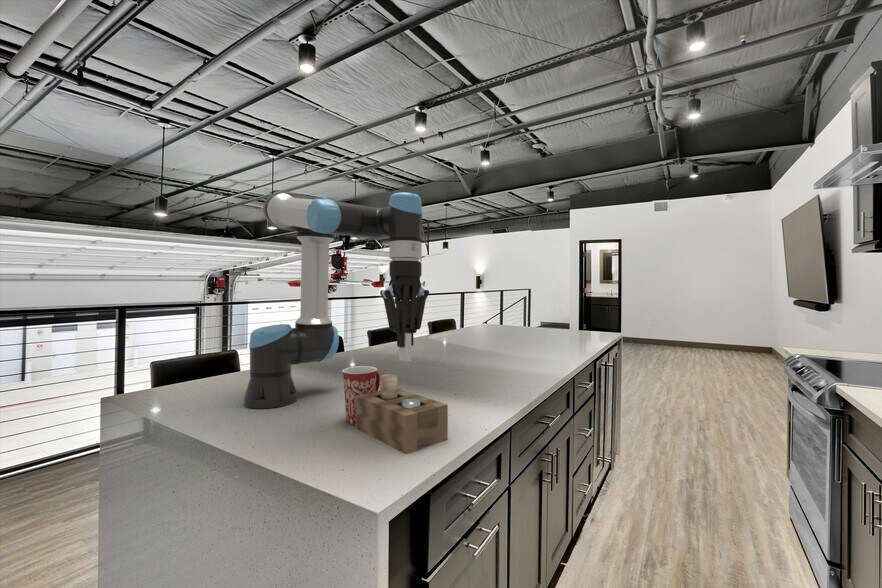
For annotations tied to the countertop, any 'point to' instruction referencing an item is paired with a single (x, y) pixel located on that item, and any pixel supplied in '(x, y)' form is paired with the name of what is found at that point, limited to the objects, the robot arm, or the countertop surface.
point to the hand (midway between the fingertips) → (405, 360)
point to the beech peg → (389, 386)
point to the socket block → (402, 420)
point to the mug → (358, 387)
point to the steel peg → (410, 403)
